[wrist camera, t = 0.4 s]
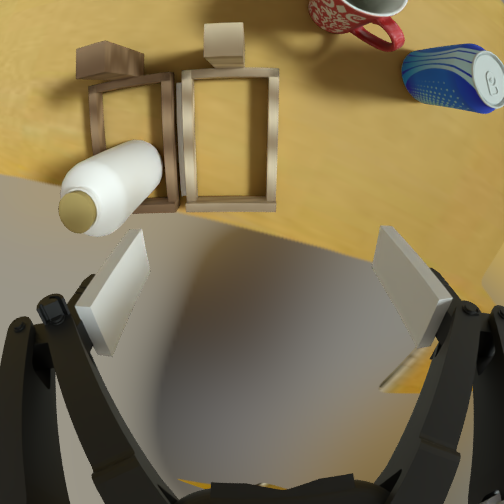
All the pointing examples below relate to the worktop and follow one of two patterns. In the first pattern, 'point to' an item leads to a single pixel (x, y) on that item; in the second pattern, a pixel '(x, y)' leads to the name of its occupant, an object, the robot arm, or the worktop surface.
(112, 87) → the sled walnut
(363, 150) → the worktop surface
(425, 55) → the beer can
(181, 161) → the lane divider
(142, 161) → the potion bottle
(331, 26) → the mug
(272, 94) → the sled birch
